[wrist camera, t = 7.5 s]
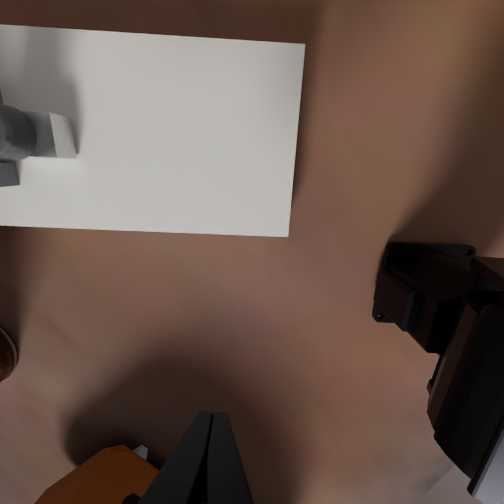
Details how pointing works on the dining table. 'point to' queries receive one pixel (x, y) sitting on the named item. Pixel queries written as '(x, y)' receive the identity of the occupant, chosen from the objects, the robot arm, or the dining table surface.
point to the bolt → (34, 134)
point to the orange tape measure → (105, 479)
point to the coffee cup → (6, 355)
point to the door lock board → (154, 131)
